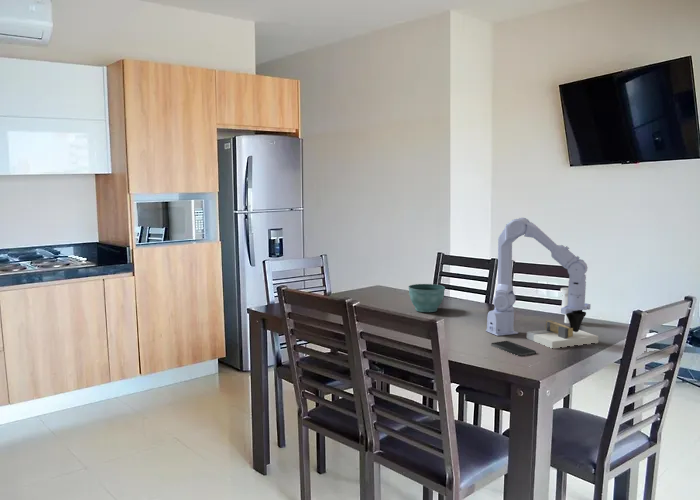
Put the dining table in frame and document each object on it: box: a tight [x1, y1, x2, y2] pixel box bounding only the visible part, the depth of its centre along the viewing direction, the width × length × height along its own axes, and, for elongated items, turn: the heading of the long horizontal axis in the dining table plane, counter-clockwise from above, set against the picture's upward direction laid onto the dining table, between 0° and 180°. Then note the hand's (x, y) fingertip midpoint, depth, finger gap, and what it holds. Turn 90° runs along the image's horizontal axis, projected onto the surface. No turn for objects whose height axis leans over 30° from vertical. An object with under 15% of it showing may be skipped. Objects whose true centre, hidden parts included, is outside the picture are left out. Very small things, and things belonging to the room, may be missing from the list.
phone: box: [490, 340, 537, 357], centre depth 196 cm, size 8×1×15 cm
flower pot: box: [408, 283, 446, 313], centre depth 255 cm, size 16×16×11 cm
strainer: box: [559, 287, 570, 325], centre depth 233 cm, size 7×7×15 cm
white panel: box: [526, 326, 600, 349], centre depth 207 cm, size 20×14×6 cm
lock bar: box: [545, 319, 573, 337], centre depth 207 cm, size 12×3×3 cm, turn 19°
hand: (574, 331), depth 205 cm, fingers closed
